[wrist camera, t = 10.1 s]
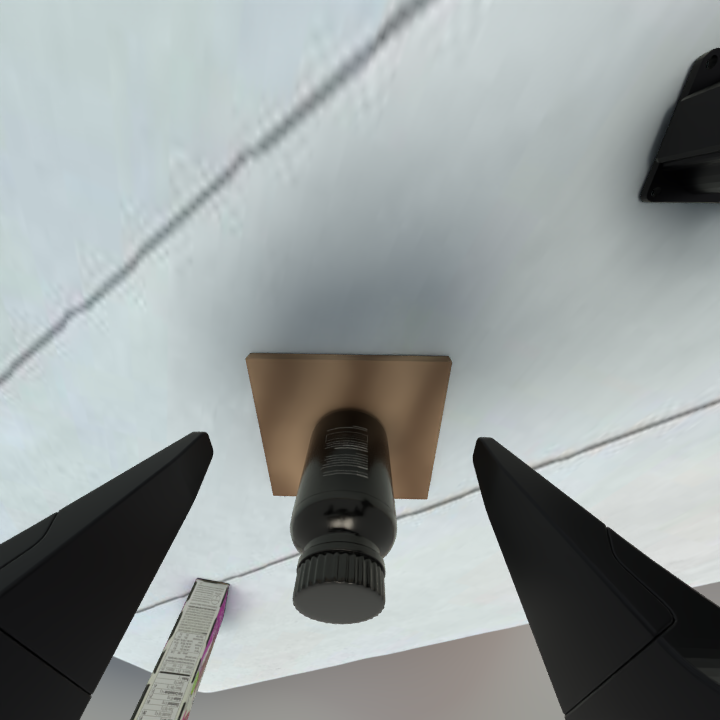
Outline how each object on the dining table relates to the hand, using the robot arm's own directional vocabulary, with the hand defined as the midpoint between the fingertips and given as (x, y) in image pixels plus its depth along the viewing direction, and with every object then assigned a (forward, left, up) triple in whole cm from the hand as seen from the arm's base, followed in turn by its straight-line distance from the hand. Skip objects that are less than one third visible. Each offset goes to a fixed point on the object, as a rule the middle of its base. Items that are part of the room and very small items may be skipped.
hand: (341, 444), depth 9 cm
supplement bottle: (0, +11, -12) cm, 16 cm away
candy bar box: (+22, +44, -13) cm, 51 cm away
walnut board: (+1, +11, -13) cm, 17 cm away
